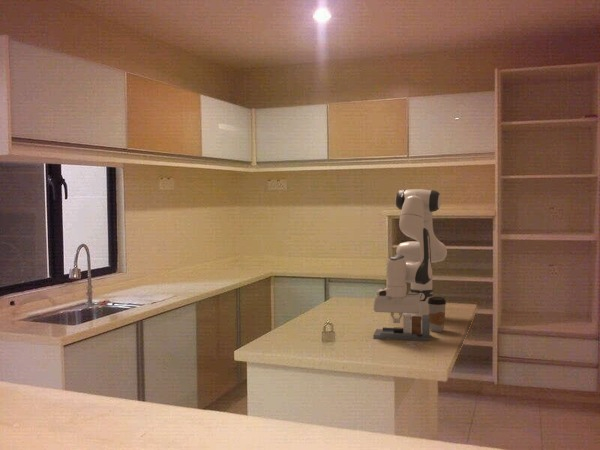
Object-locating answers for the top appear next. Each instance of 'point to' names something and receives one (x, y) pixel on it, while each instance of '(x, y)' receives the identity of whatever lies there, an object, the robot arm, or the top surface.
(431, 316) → the coffee cup
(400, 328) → the jaw
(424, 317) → the vise
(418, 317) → the block
